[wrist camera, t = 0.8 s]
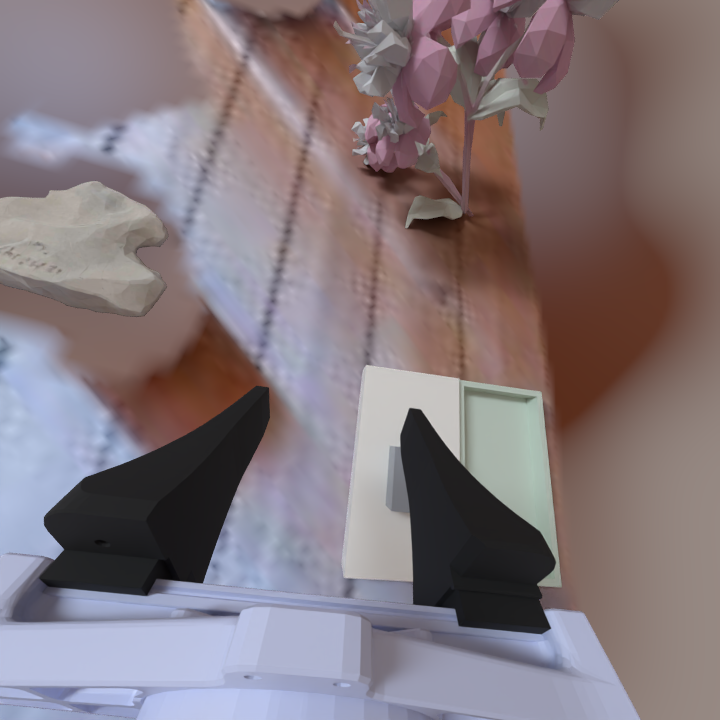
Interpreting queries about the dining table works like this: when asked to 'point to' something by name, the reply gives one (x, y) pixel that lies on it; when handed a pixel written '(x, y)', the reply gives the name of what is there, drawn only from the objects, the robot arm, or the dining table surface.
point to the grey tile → (396, 483)
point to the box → (510, 454)
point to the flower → (454, 75)
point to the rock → (82, 249)
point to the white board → (370, 467)
